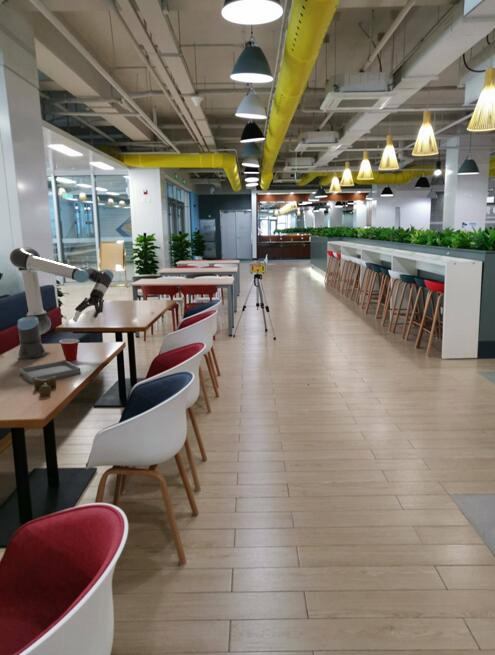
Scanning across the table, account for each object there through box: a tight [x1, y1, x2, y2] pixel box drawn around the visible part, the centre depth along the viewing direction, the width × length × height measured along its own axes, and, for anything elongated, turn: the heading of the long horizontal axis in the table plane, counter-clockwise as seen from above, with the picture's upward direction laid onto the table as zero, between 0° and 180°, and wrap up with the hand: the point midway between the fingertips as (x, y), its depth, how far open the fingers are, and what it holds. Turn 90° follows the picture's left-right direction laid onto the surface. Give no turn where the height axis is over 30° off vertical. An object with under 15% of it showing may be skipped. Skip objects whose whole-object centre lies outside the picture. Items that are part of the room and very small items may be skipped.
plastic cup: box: [59, 338, 80, 363], centre depth 287 cm, size 11×11×12 cm
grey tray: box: [19, 359, 82, 385], centre depth 260 cm, size 24×24×3 cm
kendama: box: [33, 376, 57, 398], centre depth 232 cm, size 6×10×20 cm
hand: (82, 321), depth 293 cm, fingers open, 13 cm apart
